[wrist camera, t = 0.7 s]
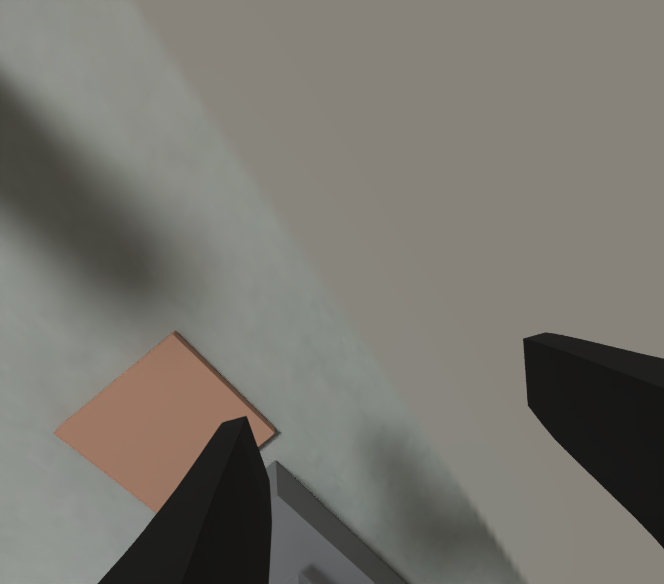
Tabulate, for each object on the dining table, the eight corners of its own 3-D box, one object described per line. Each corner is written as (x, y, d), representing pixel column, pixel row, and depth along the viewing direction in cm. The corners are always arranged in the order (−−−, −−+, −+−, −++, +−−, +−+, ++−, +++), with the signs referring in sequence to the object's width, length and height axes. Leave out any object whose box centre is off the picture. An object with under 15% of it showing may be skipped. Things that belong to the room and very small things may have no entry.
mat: (169, 513, 20) (167, 521, 19) (58, 426, 18) (53, 433, 17) (274, 427, 20) (274, 433, 19) (175, 330, 18) (172, 334, 17)
